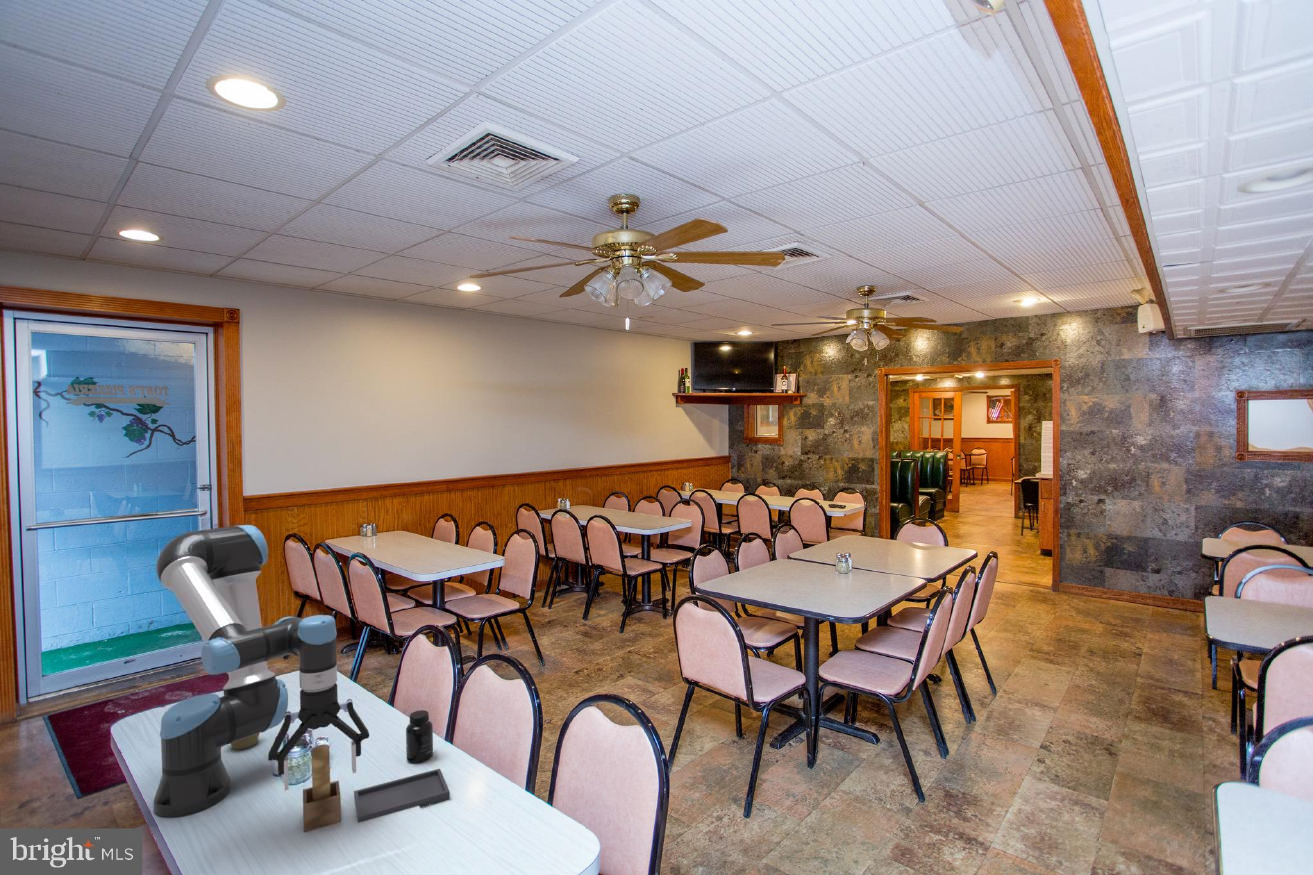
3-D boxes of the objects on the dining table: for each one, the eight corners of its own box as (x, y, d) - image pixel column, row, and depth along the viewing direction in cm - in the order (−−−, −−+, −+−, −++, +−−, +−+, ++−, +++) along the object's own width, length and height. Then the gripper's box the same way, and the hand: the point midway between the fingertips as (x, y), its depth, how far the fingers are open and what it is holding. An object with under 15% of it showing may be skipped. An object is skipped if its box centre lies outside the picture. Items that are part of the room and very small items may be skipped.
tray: (358, 825, 144) (357, 817, 144) (354, 798, 155) (353, 791, 155) (449, 798, 154) (449, 791, 154) (440, 775, 165) (439, 768, 164)
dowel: (313, 824, 144) (311, 753, 143) (313, 816, 147) (311, 746, 146) (331, 819, 145) (329, 749, 145) (330, 811, 149) (329, 742, 148)
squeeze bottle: (268, 738, 186) (266, 676, 185) (247, 752, 177) (245, 688, 177) (242, 737, 186) (240, 675, 186) (220, 751, 178) (218, 687, 178)
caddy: (303, 835, 141) (303, 805, 141) (303, 817, 148) (302, 789, 147) (341, 824, 145) (340, 795, 145) (339, 807, 151) (338, 780, 151)
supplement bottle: (400, 760, 172) (399, 716, 172) (420, 748, 178) (420, 706, 178) (419, 766, 169) (418, 721, 169) (438, 754, 175) (437, 711, 175)
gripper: (252, 704, 136) (255, 803, 137) (380, 680, 148) (382, 771, 149) (254, 691, 143) (257, 786, 143) (376, 669, 155) (378, 756, 155)
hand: (321, 778), depth 146 cm, fingers open, 13 cm apart
